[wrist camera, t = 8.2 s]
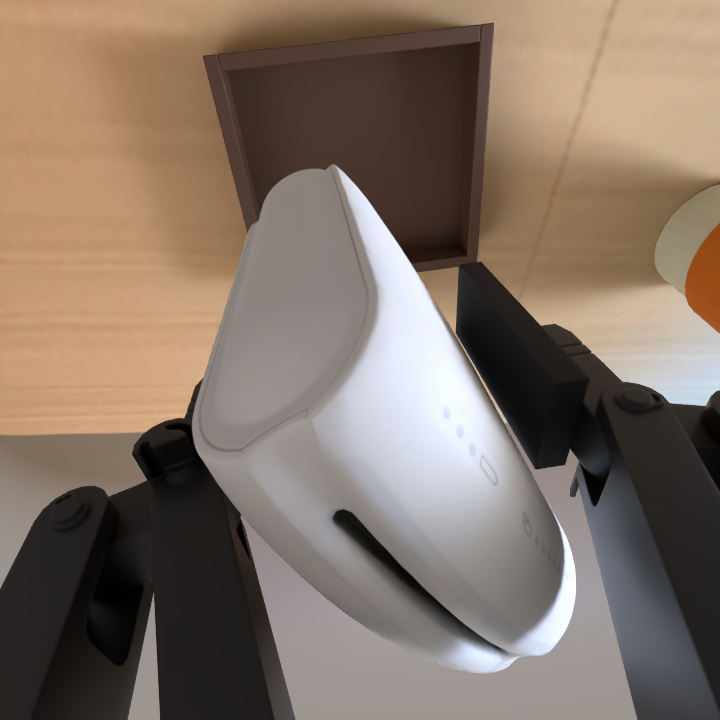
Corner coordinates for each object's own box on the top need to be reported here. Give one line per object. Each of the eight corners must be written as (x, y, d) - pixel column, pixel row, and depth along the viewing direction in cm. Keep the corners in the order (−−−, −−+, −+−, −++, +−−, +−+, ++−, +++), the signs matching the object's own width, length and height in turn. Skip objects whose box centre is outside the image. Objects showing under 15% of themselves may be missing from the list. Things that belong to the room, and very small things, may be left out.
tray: (265, 277, 34) (262, 293, 31) (212, 57, 26) (202, 56, 23) (464, 250, 35) (477, 264, 32) (476, 27, 26) (494, 22, 24)
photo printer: (467, 349, 19) (657, 679, 9) (386, 396, 20) (471, 738, 10) (334, 135, 13) (429, 349, 3) (233, 215, 14) (61, 565, 4)
